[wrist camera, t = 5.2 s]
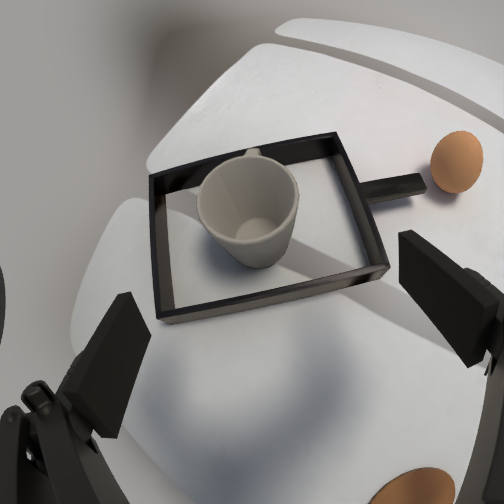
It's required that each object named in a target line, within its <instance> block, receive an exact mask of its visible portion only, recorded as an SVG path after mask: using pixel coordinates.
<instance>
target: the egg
mask: <svg viewBox="0 0 504 504" xmlns="http://www.w3.org/2000/svg"><path fill="white" fill-rule="evenodd" d="M482 164H483V151H482V147H481V144H480V142H479V141H478V139H477V138H476V137H475V136H474V135H473V134H471V133H469V132H466V131H456V132H453V133H450V134H449V135H447V136H445V137H444V138H443V139H442V140H440V142H439V143H438V144H437V146H436V147H435V149H434V151H433V154H432V157H431V163H430V167H431V174H432V177H433V179H434V181H435V183H436V184H437V185H438V186H439V187H440V188H441V189H442V190H444V191H446V192H449V193H460V192H464V191H466V190H468V189H469V188H470V187H472V185H473V184H474V183H475V182H476V180H477V179H478V177H479V175H480V173H481V170H482Z"/></svg>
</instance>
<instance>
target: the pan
mask: <svg viewBox="0 0 504 504" xmlns="http://www.w3.org/2000/svg"><path fill="white" fill-rule="evenodd" d="M252 148H258V149H259V150H260V153H261V156H263V157H267V158H270V159H273V160H275V161H277V162H278V163H280V164H282V165H288V164H293V163H298V162H303V161H308V160H313V159H319V158H324V157H330V156H331V159H332V161H333V163H334V166H335V168H336V171H337V173H338V176H339V178H340V181H341V183H342V186H343V188H344V191H345V194H346V196H347V199H348V201H349V204H350V207H351V209H352V212H353V215H354V218H355V221H356V223H357V226H358V229H359V232H360V235H361V238H362V241H363V244H364V247H365V250H366V253H367V256H368V259H369V262H370V265H371V266H367V267H363V268H359V269H355V270H351V271H348V272H343V273H339V274H335V275H331V276H327V277H323V278H319V279H314V280H310V281H306V282H301V283H297V284H293V285H288V286H284V287H279V288H275V289H270V290H266V291H261V292H257V293H252V294H247V295H242V296H238V297H233V298H228V299H223V300H218V301H213V302H208V303H203V304H198V305H193V306H188V307H183V308H177V309H175V305H174V297H173V287H172V278H171V267H170V256H169V244H168V230H167V215H166V198H165V197H166V196H165V194H169V193H172V192H175V191H179V190H183V189H187V188H190V187H194V186H198V185H201V184H202V183H203V181H204V179H205V178H206V176H207V175H208V174H209V173H210V172H211V171H212V170H213V169H214V168H215V167H217V166H219V165H220V164H222V163H223V162H225V161H227V160H230V159H233V158H236V157H240V156H244V155H245V154H246V151H247V149H251V148H247V149H243V150H238V151H234V152H230V153H226V154H222V155H218V156H214V157H210V158H206V159H203V160H199V161H195V162H192V163H188V164H184V165H181V166H177V167H174V168H171V169H167V170H164V171H161V172H157V173H154V174H151V175H149V221H150V246H151V263H152V277H153V290H154V301H155V311H156V319H158V320H161V321H163V322H166V323H169V324H178V323H184V322H189V321H195V320H200V319H206V318H211V317H216V316H222V315H227V314H232V313H237V312H242V311H247V310H251V309H256V308H261V307H266V306H270V305H275V304H279V303H284V302H288V301H293V300H297V299H302V298H306V297H310V296H314V295H318V294H323V293H327V292H331V291H335V290H339V289H343V288H347V287H350V286H354V285H358V284H362V283H366V282H370V281H373V280H377V279H380V278H381V277H382V276H383V275H384V274H385V273H386V272H387V271H388V270H389V269H390V264H389V260H388V257H387V254H386V251H385V249H384V246H383V243H382V240H381V237H380V234H379V232H378V229H377V226H376V223H375V221H374V218H373V215H372V213H371V210H370V208H369V204H374V203H379V202H384V201H389V200H394V199H399V198H404V197H409V196H414V195H419V194H424V193H425V191H426V190H427V187H426V185H425V183H424V181H423V179H422V177H421V175H420V173H414V174H408V175H402V176H396V177H390V178H384V179H379V180H373V181H368V182H362V183H359V181H358V178H357V176H356V174H355V171H354V169H353V167H352V165H351V162H350V160H349V158H348V156H347V153H346V151H345V149H344V147H343V145H342V143H341V141H340V139H339V136H338V134H337V132H330V133H324V134H318V135H312V136H306V137H301V138H295V139H290V140H285V141H280V142H275V143H270V144H265V145H261V146H256V147H252Z"/></svg>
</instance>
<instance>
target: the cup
mask: <svg viewBox="0 0 504 504" xmlns="http://www.w3.org/2000/svg"><path fill="white" fill-rule="evenodd" d="M298 202H299V191H298V185H297V183H296V181H295V179H294V177H293V175H292V174H291V173H290V172H289V171H288V170H287V169H286V167H285V166H283V165H282V164H280V163H278V162H277V161H275V160H273V159H270V158H267V157H263V156H261V153H260V150H259V149H258V148H251V149H247V151H246V154H245V155H244V156H240V157H236V158H233V159H230V160H227V161H225V162H223V163H222V164H220V165H219V166H217V167H215V168H214V169H213V170H212V171H211V172H210V173H209V174H208V175H207V176H206V178H205V179H204V181H203V183H202V184H201V186H200V189H199V192H198V195H197V213H198V216H199V219H200V221H201V223H202V224H203V226H204V227H205V229H206V230H207V231H208V232H209V233H210V234H211V235H212V236H213V237H214V238H215V240H216V241H217V242H218V243H219V244H220V245H221V246H222V247H223V248H224V249H226V250H227V251H228V252H229V253H230V254H231V255H232V256H234V257H235V258H236V259H237V260H238V261H240V262H241V263H242V264H244V265H246V266H249V267H254V268H263V267H267V266H270V265H273V264H274V263H276V262H277V261H278V260H280V258H281V257H282V256H283V255H284V254H285V252H286V249H287V247H288V244H289V241H290V238H291V235H292V232H293V227H294V223H295V218H296V213H297V209H298Z"/></svg>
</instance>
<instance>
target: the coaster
mask: <svg viewBox="0 0 504 504" xmlns="http://www.w3.org/2000/svg"><path fill="white" fill-rule="evenodd" d="M454 498H455V484H454V481H453V479H452V478H451V476H450V475H449V474H447V473H446V472H445V471H443V470H441V469H437V468H420V469H415V470H412V471H409V472H407V473H405V474H402V475H400V476H399V477H397V478H395V479H394V480H392V481H390V482H389V483H388V484H387V485H385V486H384V487H383V488H382V489H381V490H380V491H379V492H378V493H377V494H376V495H375V496H374V497H373V499H372V500H371V501H370V503H369V504H453V502H454Z"/></svg>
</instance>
